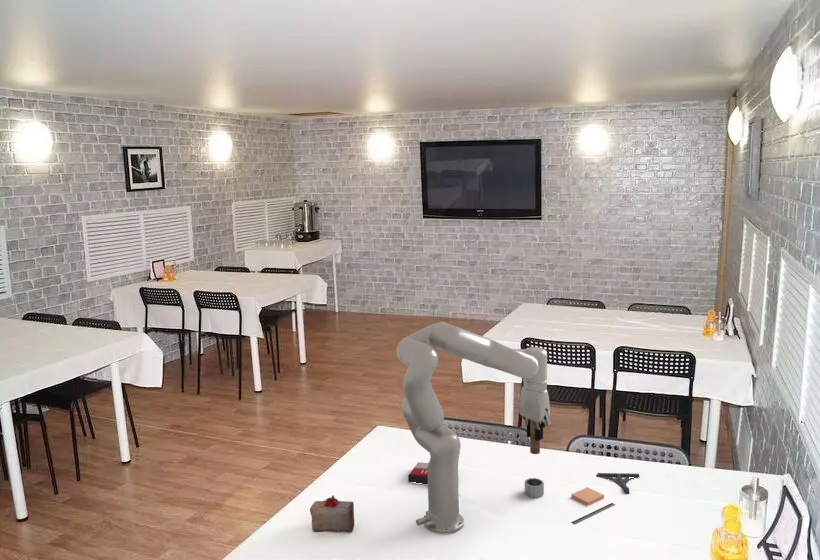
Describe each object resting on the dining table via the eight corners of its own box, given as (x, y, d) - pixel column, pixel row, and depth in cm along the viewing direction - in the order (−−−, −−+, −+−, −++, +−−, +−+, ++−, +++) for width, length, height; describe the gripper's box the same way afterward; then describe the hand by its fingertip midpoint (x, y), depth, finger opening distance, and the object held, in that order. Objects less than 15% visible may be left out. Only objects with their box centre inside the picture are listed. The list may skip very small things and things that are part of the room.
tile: (588, 502, 209) (604, 495, 214) (571, 494, 215) (587, 487, 219) (588, 506, 209) (604, 499, 214) (571, 498, 215) (587, 491, 219)
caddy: (534, 502, 214) (534, 488, 213) (521, 495, 219) (521, 481, 218) (547, 496, 218) (547, 483, 217) (533, 490, 223) (533, 476, 222)
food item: (308, 534, 199) (306, 504, 197) (314, 520, 206) (313, 492, 205) (351, 535, 197) (350, 505, 196) (356, 521, 205) (355, 492, 204)
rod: (535, 455, 214) (535, 414, 211) (528, 451, 216) (528, 412, 214) (541, 452, 215) (542, 412, 213) (534, 449, 218) (535, 409, 216)
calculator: (417, 460, 241) (455, 463, 235) (418, 471, 241) (456, 475, 236) (407, 473, 230) (447, 477, 225) (408, 485, 231) (448, 488, 226)
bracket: (605, 496, 218) (605, 488, 218) (597, 476, 233) (597, 469, 232) (649, 497, 217) (649, 490, 216) (638, 477, 231) (638, 470, 231)
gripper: (509, 381, 217) (509, 433, 219) (545, 393, 203) (545, 448, 206) (525, 377, 221) (525, 428, 224) (561, 389, 208) (561, 443, 210)
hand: (534, 437), depth 215 cm, fingers closed on rod, 3 cm apart
